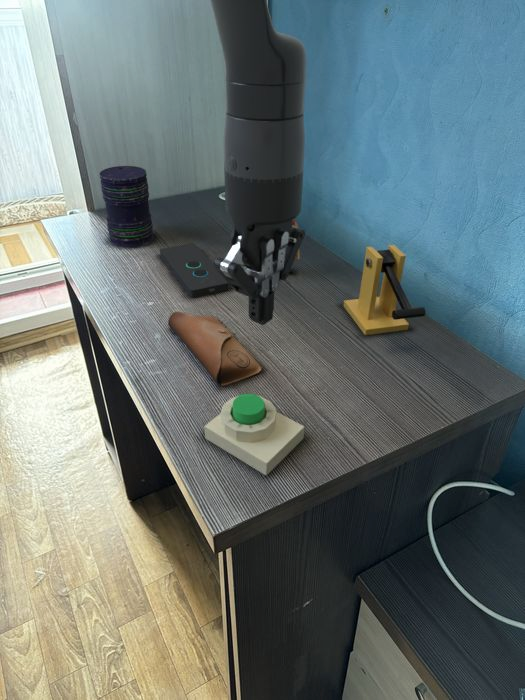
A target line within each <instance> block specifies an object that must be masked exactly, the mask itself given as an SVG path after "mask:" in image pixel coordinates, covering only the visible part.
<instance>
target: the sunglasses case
mask: <svg viewBox="0 0 525 700" xmlns="http://www.w3.org/2000/svg"><path fill="white" fill-rule="evenodd" d="M167 323H168V324H167V325H168V328H169V329H170V330H171V331H172V332H173V333H174V334H175V335H176V336H177V338H178V339H179V340H180V341H181V342H182V343H183V344H184V346H185V347H186V348H187V349H188V350H189V352H190V353H191V355H193V356H194V357H195V359H196V360H197V361H198V363H199V364H200V365H201V366H202V367H203V368H204V370H205V371H206V373H207V374H208V375H209V377H211V378H212V380H213V381H214V382H215V383H216V384H218V385H219V386H221V387H227V386H230V385H232V384H237V383H239V382H241V381H244V380H247V379H249V378H251V377H253V376H255V375H256V376H257V375H258V374H260V373H261V372H262V370H263V367H262V366H261V365H260V363H259V362H258V361H257V360H256V358H255V357H254V356H252V354H251V353H250V352H249V351H248V350H247V349H246V348H245V347H244V346H243V345H242V344H241V343H240V342H239V341H238V340H237V338H235V336H234V335H232V333H231V331H230V330H228V329H227V328H226V327H225V326H224V325H223V324H222V322H220V321H219V319H218V318H217V317H215V316H208V315H199V314H198V315H197V314H190V313H186V312H181V311H173V313H172V314H170V315H169V317H168V321H167Z"/></svg>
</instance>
